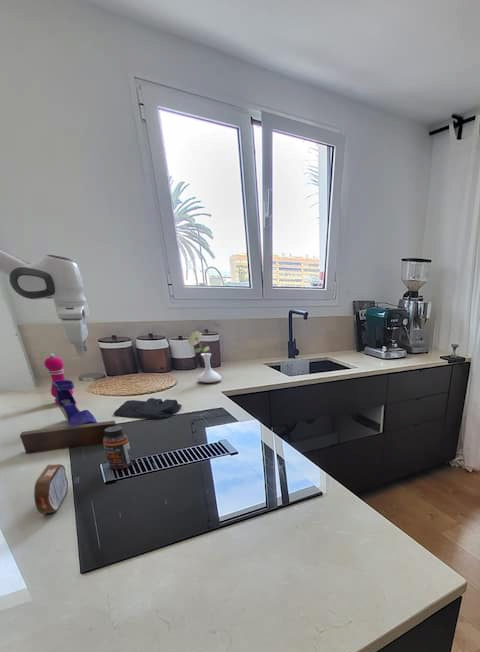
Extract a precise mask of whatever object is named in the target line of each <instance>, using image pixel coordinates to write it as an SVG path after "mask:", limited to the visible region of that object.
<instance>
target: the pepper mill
mask: <svg viewBox="0 0 480 652" xmlns="http://www.w3.org/2000/svg"><path fill="white" fill-rule="evenodd" d="M43 364H44V367H45V368H46V369H48V370H47V372H48V374H49V375H50V377H51V387H50V394H51V396H52V397H54V398H55V399H54V402H55V405H57V401H56V389H54V388H53V387H54V386H52V385H53V384H52V383H54V382H55V381H57V380H66V379H65V371H64V368H63V367H64V365H65V363H64V361H63V360H62V359H61V358H60V357H56V356H55V354H54V353H52V352H51V353H49V354H48V357H47V358H46V359H45V360H44V362H43ZM69 391H70V392H71V394H72V395H73V394H74V389H70V390H69Z"/></svg>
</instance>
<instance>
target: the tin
mask: <svg viewBox="0 0 480 652" xmlns="http://www.w3.org/2000/svg"><path fill="white" fill-rule="evenodd" d="M33 489H34V490H33V497H34V498H33V499H34V504H35V507H36V511H38V513H39V514H40V515H41V514H42V515H43V514H48V513H49V514H51V513H55V512H57V511H58V510H59V509H60V507H61V505H62V503H63V501H64V500H65V497H66V496H67V494H68V489H69V481H68V478H67V474H66V468H65V466H64V465H63V464H60V463H59V464H47V465H46V466H45V468H44V469H43V471H42V472H41V473H40V475H39V476H38V477H37V479H36V481H35V483H34V488H33Z"/></svg>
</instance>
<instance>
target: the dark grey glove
mask: <svg viewBox="0 0 480 652" xmlns="http://www.w3.org/2000/svg"><path fill="white" fill-rule="evenodd" d="M178 402H179V401H178V400H177V399H169V398H168V399H167V398H166V399H164V400H163V399H162V398H154V397H150V398H148V399H146V400H135V399H131V400H130V399H129V400H126V401H124V402H123V403H122V404H121V405H119V407H118V408H117V409H115V411H114V412H113V415H114V416H119V417H124V418H132V419H133V418H134V419H150V420H160V419H168V418H169V417H170V418H171V417H172V415H175V414H177V413H178V412H179V411H180V409H181V408H182V407H183V405H182V404H181V403H178Z"/></svg>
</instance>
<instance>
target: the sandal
mask: <svg viewBox="0 0 480 652" xmlns="http://www.w3.org/2000/svg"><path fill="white" fill-rule="evenodd" d="M52 384H53V385H52ZM52 386H54V387H53V388H54V389H56V398H55V399H56V401H57V404H56V405H57V406H58V408H59V410H60V411H61V413H62V415H63V416H64V418H65V420H66V423H67V426H74V425H82V424H91V423H99V422H98V420H97V419H96V417H95V416H94V415H93V413H91V412H90V410H88V409H84V410H80V409H79V408H78V405H77V401H76V399H75V397H74V395H73V394H71V392H70V391H69V390H70V389H72V390H74V389H75V384H74V382H73V381H72V380H69V379H65V380H57V381H55V382H54V383H52V382H51V387H52Z"/></svg>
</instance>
